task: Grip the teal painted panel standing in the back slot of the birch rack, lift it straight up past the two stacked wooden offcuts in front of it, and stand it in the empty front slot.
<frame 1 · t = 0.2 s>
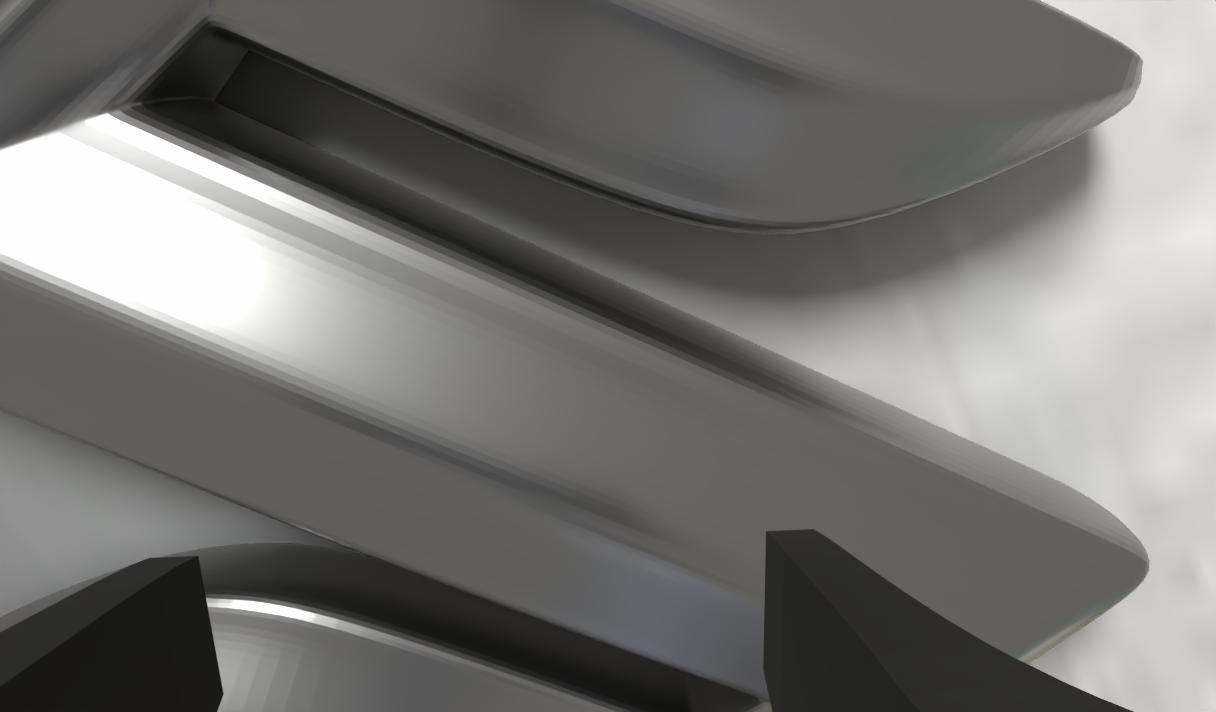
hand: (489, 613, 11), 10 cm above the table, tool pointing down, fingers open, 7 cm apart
emblem: (496, 377, 21), on the table
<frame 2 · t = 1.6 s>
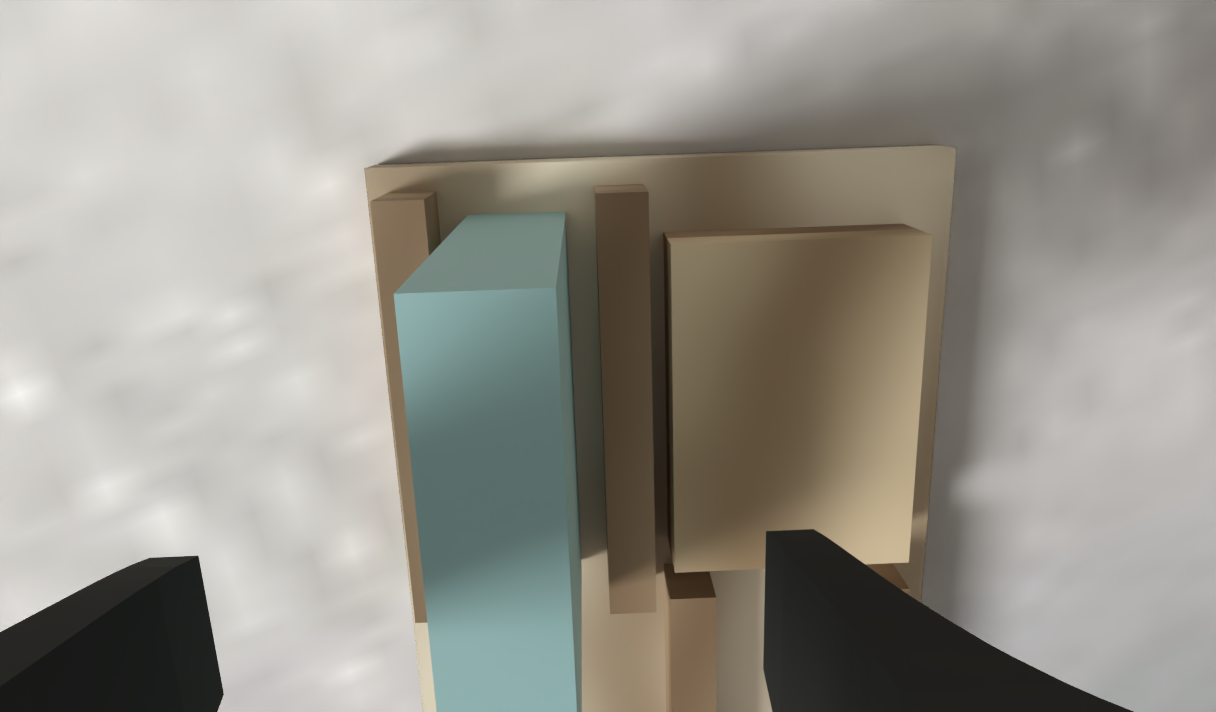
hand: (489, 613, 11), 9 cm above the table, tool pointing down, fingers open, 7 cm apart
oak offcut: (787, 399, 19), point 2 cm above the table, touching walnut offcut
walnut offcut: (779, 387, 19), point 1 cm above the table, touching oak offcut, rack
teal panel: (528, 397, 19), point 1 cm above the table, touching rack
rack: (664, 554, 22), on the table
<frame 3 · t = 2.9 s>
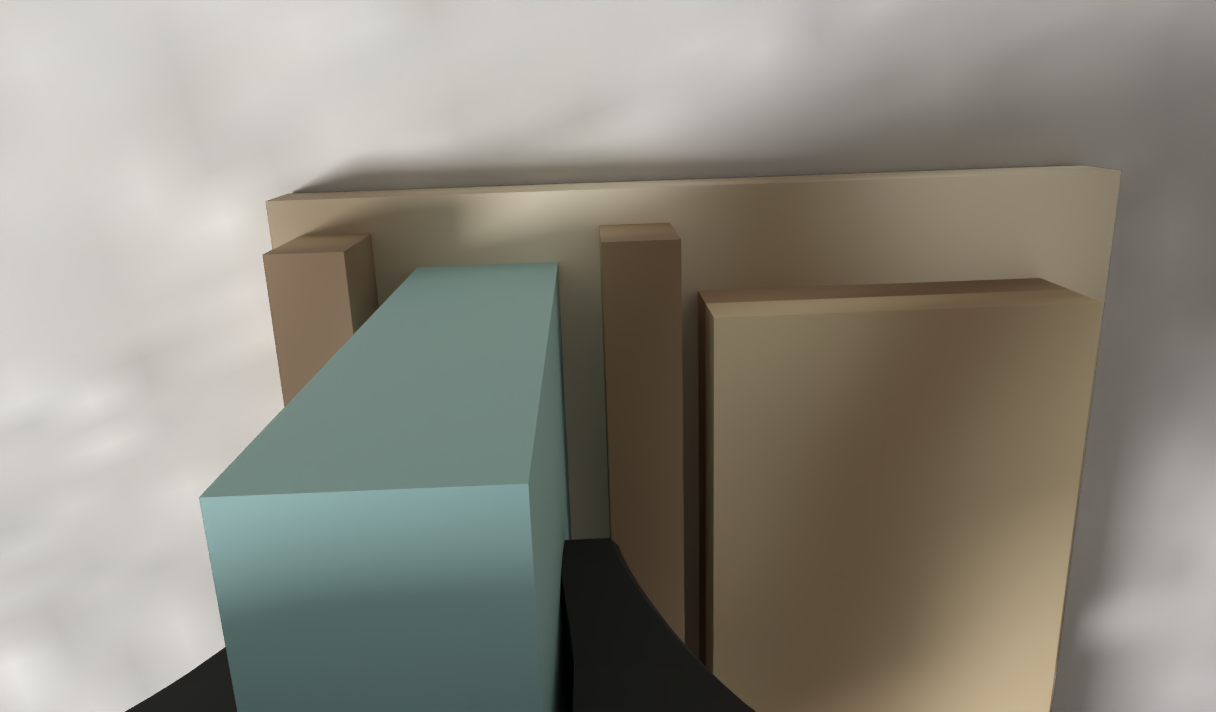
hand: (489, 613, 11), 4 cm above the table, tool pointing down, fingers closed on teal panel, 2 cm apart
oak offcut: (874, 528, 13), point 2 cm above the table, touching walnut offcut
walnut offcut: (858, 504, 14), point 1 cm above the table, touching oak offcut, rack
teal panel: (506, 519, 14), point 1 cm above the table, touching gripper, rack
rack: (692, 711, 16), on the table
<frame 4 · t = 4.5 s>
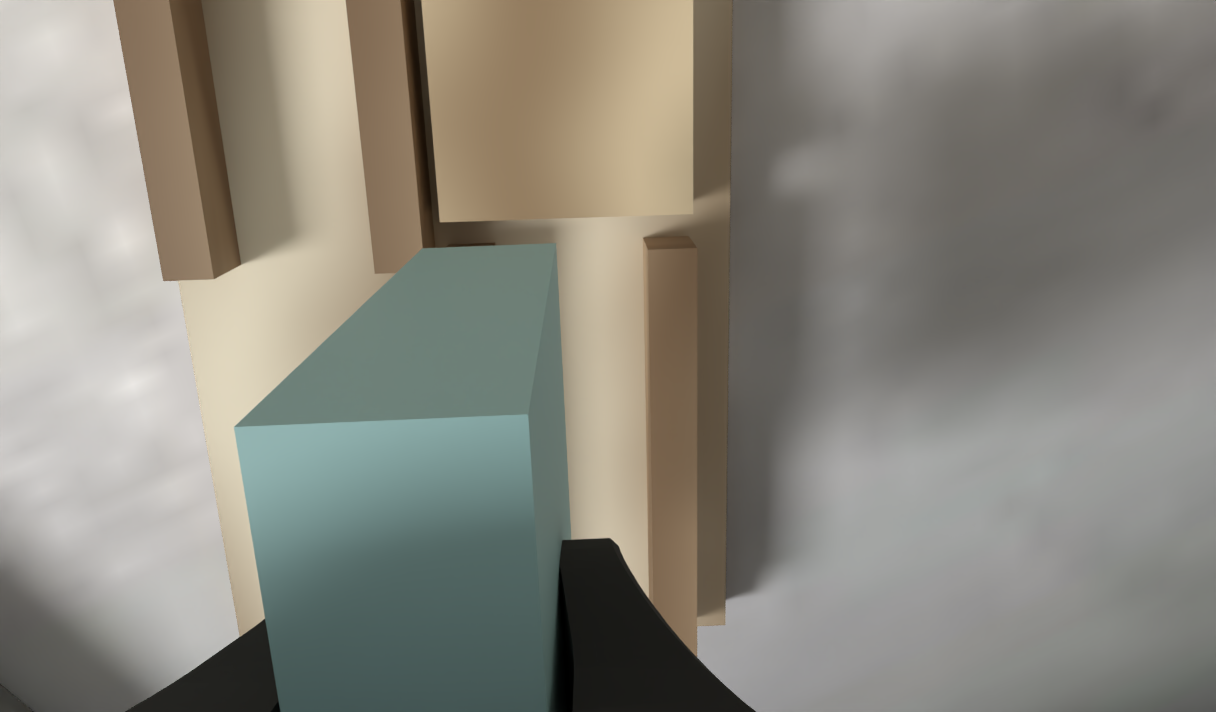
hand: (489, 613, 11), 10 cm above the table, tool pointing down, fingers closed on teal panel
oak offcut: (559, 32, 17), point 2 cm above the table, touching walnut offcut
teal panel: (507, 490, 14), point 7 cm above the table, touching gripper
rack: (460, 249, 20), on the table
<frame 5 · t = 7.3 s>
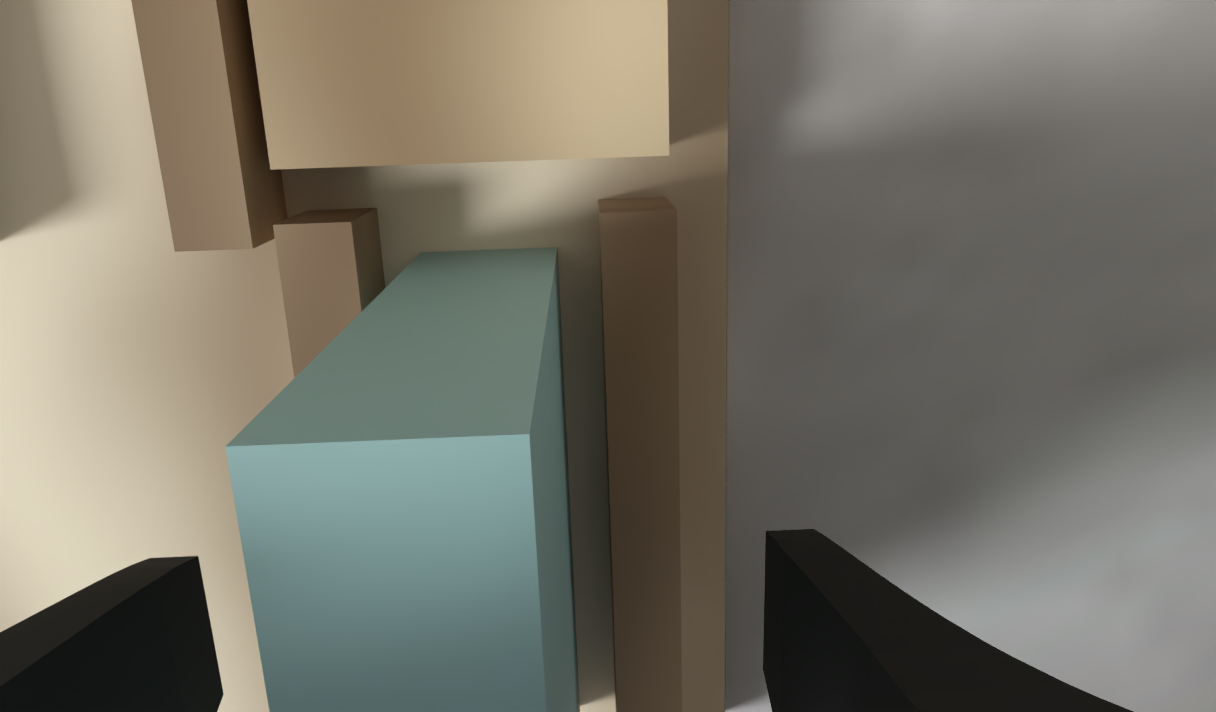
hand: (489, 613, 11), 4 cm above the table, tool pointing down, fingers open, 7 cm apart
teal panel: (507, 497, 14), point 1 cm above the table, touching rack
rack: (335, 221, 14), on the table
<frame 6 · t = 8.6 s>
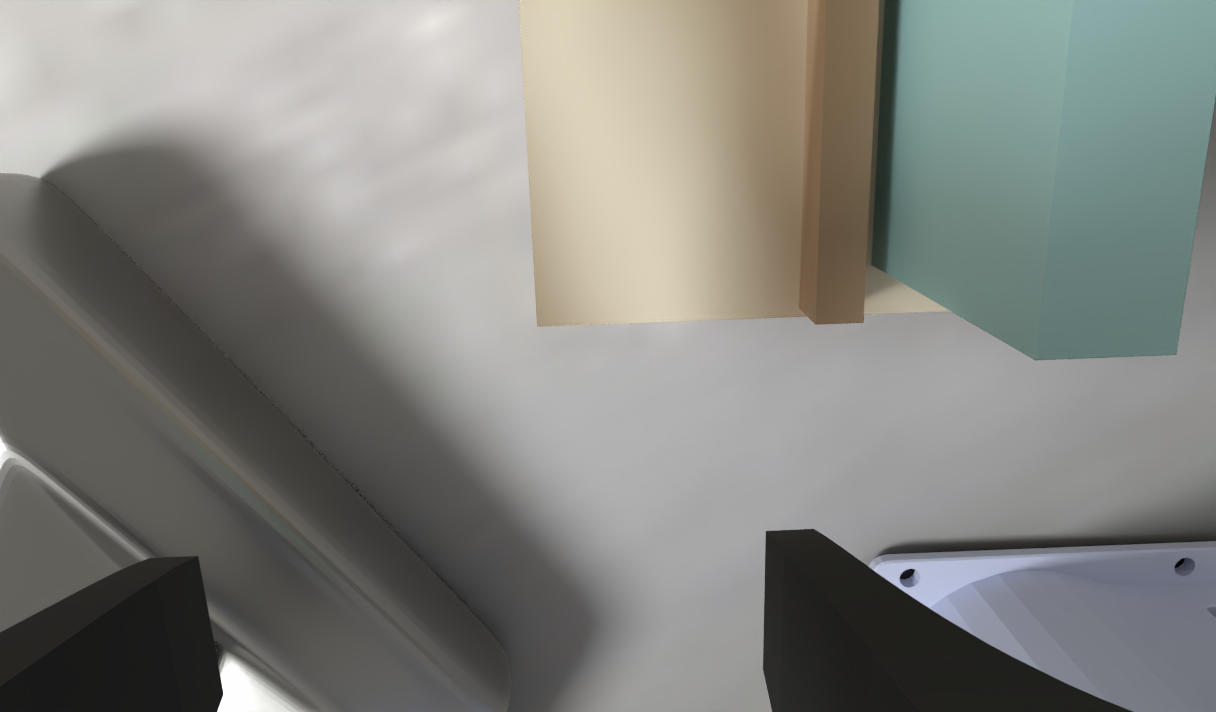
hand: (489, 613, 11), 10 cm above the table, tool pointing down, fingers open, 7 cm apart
teal panel: (928, 74, 19), point 1 cm above the table, touching rack
emblem: (13, 703, 24), on the table
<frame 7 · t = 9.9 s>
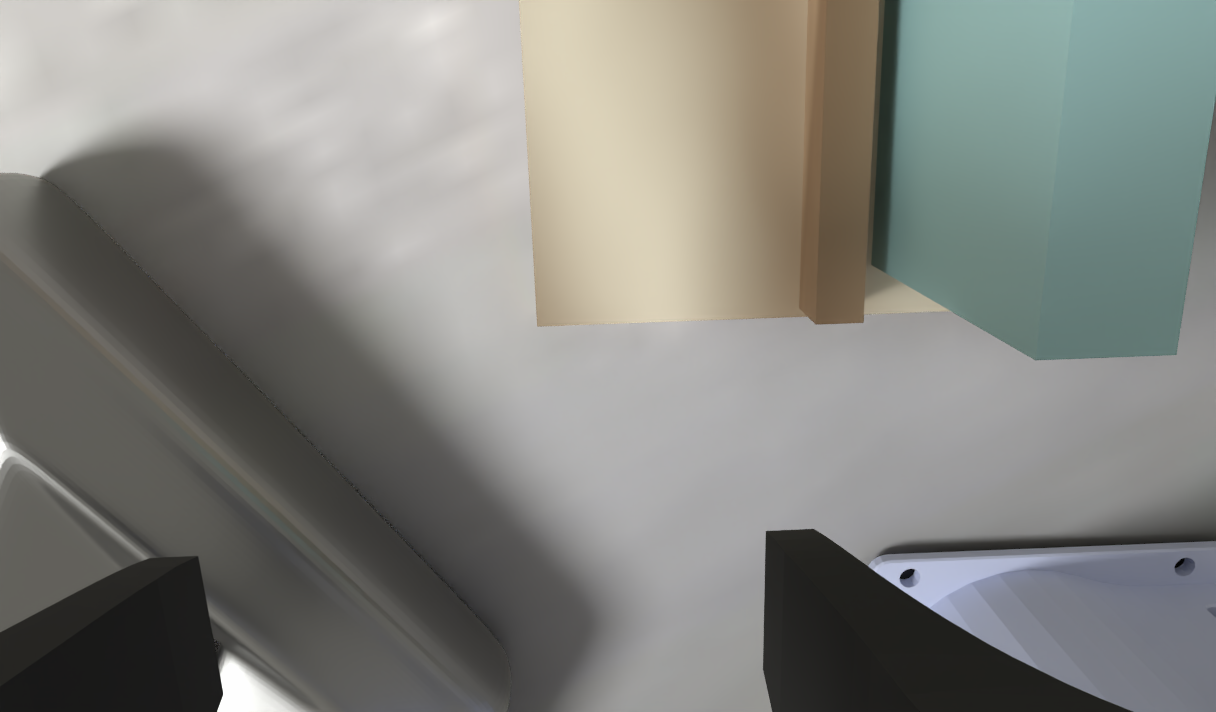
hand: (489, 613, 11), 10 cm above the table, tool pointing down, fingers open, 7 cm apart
teal panel: (928, 74, 19), point 1 cm above the table, touching rack
emblem: (13, 703, 24), on the table
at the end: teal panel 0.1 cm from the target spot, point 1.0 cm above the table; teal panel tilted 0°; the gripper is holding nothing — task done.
